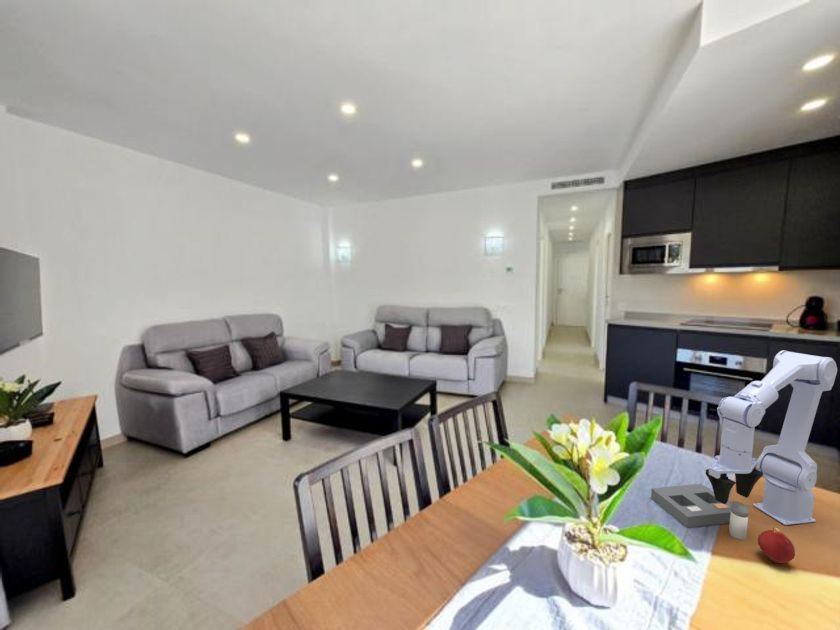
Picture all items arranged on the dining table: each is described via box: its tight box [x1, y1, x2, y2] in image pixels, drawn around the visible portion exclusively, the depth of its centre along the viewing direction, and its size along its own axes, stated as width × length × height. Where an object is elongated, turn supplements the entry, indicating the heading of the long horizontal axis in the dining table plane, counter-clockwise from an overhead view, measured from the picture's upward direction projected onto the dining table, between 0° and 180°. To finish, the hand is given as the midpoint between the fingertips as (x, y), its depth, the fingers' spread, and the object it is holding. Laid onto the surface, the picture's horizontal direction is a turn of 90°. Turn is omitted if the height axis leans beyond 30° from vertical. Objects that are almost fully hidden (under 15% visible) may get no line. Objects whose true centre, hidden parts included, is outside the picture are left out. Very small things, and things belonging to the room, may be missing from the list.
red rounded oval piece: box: [757, 527, 796, 564], centre depth 78 cm, size 6×6×8 cm
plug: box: [728, 500, 750, 541], centre depth 86 cm, size 3×3×8 cm
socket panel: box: [650, 483, 732, 529], centre depth 96 cm, size 16×12×3 cm
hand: (731, 498), depth 86 cm, fingers open, 7 cm apart
